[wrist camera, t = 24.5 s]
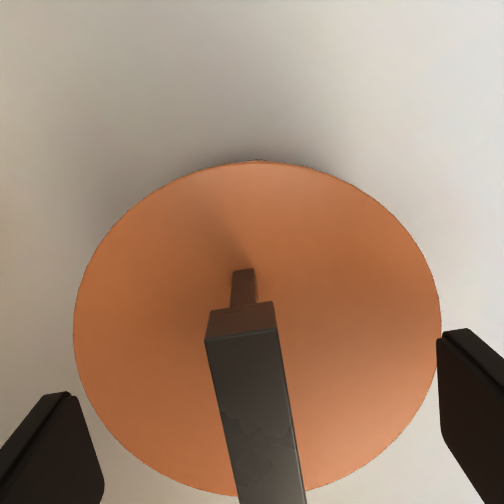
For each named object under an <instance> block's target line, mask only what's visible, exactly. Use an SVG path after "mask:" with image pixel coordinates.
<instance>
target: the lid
mask: <svg viewBox="0 0 504 504" xmlns="http://www.w3.org/2000/svg"><path fill="white" fill-rule="evenodd" d="M438 338H441V313H440V305H439V297H438V294H437V290H436V286H435V283H434V279H433V276H432V273H431V271H430V269H429V267H428V265H427V262H426V260H425V258H424V256H423V254H422V252H421V251H420V249H419V247H418V246H417V244H416V243H415V241H414V240H413V238H412V236H411V235H410V234H409V232H408V231H407V230H406V229H405V228H404V227H403V225H402V224H401V223H400V222H399V221H398V220H397V219H396V217H395V216H394V215H393V214H391V213H390V212H389V211H388V210H387V209H386V208H384V207H383V206H382V205H381V204H380V203H379V202H378V201H376V200H375V199H374V198H372V197H371V196H369V195H367V194H366V193H364V192H363V191H361V190H360V189H358V188H357V187H355V186H353V185H351V184H349V183H347V182H345V181H343V180H340V179H338V178H336V177H334V176H332V175H330V174H327V173H324V172H321V171H317V170H314V169H311V168H308V167H304V166H299V165H293V164H287V163H281V162H264V161H248V162H238V163H229V164H222V165H218V166H214V167H210V168H206V169H202V170H198V171H196V172H193V173H191V174H188V175H186V176H183V177H181V178H178V179H176V180H174V181H172V182H170V183H168V184H167V185H165V186H163V187H161V188H159V189H158V190H156V191H154V192H152V193H151V194H149V195H148V196H147V197H145V198H144V199H143V200H141V201H140V202H139V203H137V204H136V205H135V206H133V207H132V208H131V209H130V210H129V211H128V212H127V213H126V214H125V215H124V216H123V217H122V218H121V219H120V220H119V221H118V222H117V223H116V224H115V225H114V226H113V227H112V228H111V229H110V231H109V232H108V233H107V235H106V236H105V237H104V239H103V240H102V241H101V243H100V244H99V246H98V247H97V249H96V251H95V253H94V254H93V256H92V258H91V260H90V262H89V264H88V266H87V267H86V270H85V273H84V276H83V278H82V281H81V284H80V287H79V289H78V294H77V299H76V304H75V309H74V321H73V342H74V353H75V359H76V363H77V368H78V372H79V376H80V379H81V382H82V384H83V387H84V389H85V392H86V394H87V397H88V399H89V401H90V403H91V404H92V406H93V408H94V410H95V411H96V413H97V415H98V417H99V418H100V419H101V421H102V422H103V423H104V425H105V426H106V427H107V429H108V430H109V431H110V433H111V434H112V435H113V436H114V437H115V438H116V439H117V440H118V441H119V442H120V443H121V444H122V445H123V446H124V447H125V448H126V449H127V450H128V451H129V452H130V453H132V454H133V455H134V456H135V457H137V458H138V459H139V460H140V461H142V462H143V463H145V464H146V465H148V466H149V467H151V468H152V469H154V470H156V471H157V472H159V473H160V474H162V475H165V476H167V477H169V478H171V479H173V480H175V481H177V482H179V483H182V484H185V485H188V486H190V487H193V488H196V489H199V490H203V491H207V492H212V493H216V494H220V495H228V496H237V497H238V499H239V503H240V504H307V499H306V493H305V491H308V490H311V489H315V488H318V487H321V486H324V485H327V484H329V483H332V482H334V481H336V480H338V479H341V478H343V477H345V476H347V475H349V474H351V473H352V472H354V471H356V470H357V469H359V468H361V467H363V466H364V465H366V464H367V463H368V462H370V461H371V460H372V459H374V458H375V457H376V456H378V455H379V454H380V453H382V452H383V451H384V450H385V449H386V448H387V447H388V446H389V445H390V444H391V443H392V442H393V441H394V440H396V439H397V438H398V436H399V435H400V434H401V433H402V431H403V430H404V429H405V428H406V427H407V425H408V424H409V423H410V422H411V420H412V419H413V417H414V416H415V414H416V412H417V411H418V409H419V408H420V406H421V405H422V403H423V401H424V399H425V396H426V394H427V392H428V390H429V388H430V386H431V383H432V380H433V377H434V373H435V370H436V367H437V358H436V340H437V339H438Z"/></svg>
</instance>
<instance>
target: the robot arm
mask: <svg viewBox="0 0 504 504" xmlns="http://www.w3.org/2000/svg"><path fill="white" fill-rule="evenodd" d="M436 358H437V375H438V393H439V410H440V427H441V433H442V436H443V439H444V441H445V443H446V445H447V446H448V448H449V449H450V451H451V452H452V454H453V456H454V457H455V459H456V460H457V462H458V463H459V465H460V466H461V468H462V469H463V471H464V472H465V474H466V476H467V477H468V479H469V480H470V482H471V483H472V485H473V486H474V488H475V489H476V491H477V492H478V494H479V496H480V497H481V499H482V500H483V502H484V503H485V504H504V359H503V358H502V357H501V356H500V355H499V354H498V353H496V352H495V351H494V350H493V349H492V348H491V347H490V346H488V345H487V344H486V343H485V342H484V341H483V340H481V339H480V338H479V337H478V336H477V335H476V334H474V333H473V332H472V331H471V330H470V329H468V328H464V329H457V330H451V331H445V332H443V334H442V338H438V339H437V340H436ZM104 486H105V484H104V477H103V474H102V471H101V468H100V465H99V462H98V459H97V456H96V452H95V449H94V446H93V443H92V440H91V437H90V434H89V431H88V428H87V425H86V421H85V418H84V415H83V412H82V409H81V406H80V403H79V400H78V398H77V397H76V396H72V395H71V394H70V393H69V392H67V391H65V392H58V393H52V394H46V395H44V396H42V397H41V398H40V400H39V401H38V402H37V404H36V405H35V406H34V407H33V409H32V410H31V411H30V412H29V414H28V415H27V416H26V417H25V419H24V420H23V421H22V423H21V424H20V425H19V426H18V428H17V429H16V430H15V431H14V433H13V434H12V435H11V436H10V438H9V439H8V440H7V442H6V443H5V444H4V445H3V447H2V448H1V449H0V504H100V501H101V499H102V496H103V493H104Z"/></svg>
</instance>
